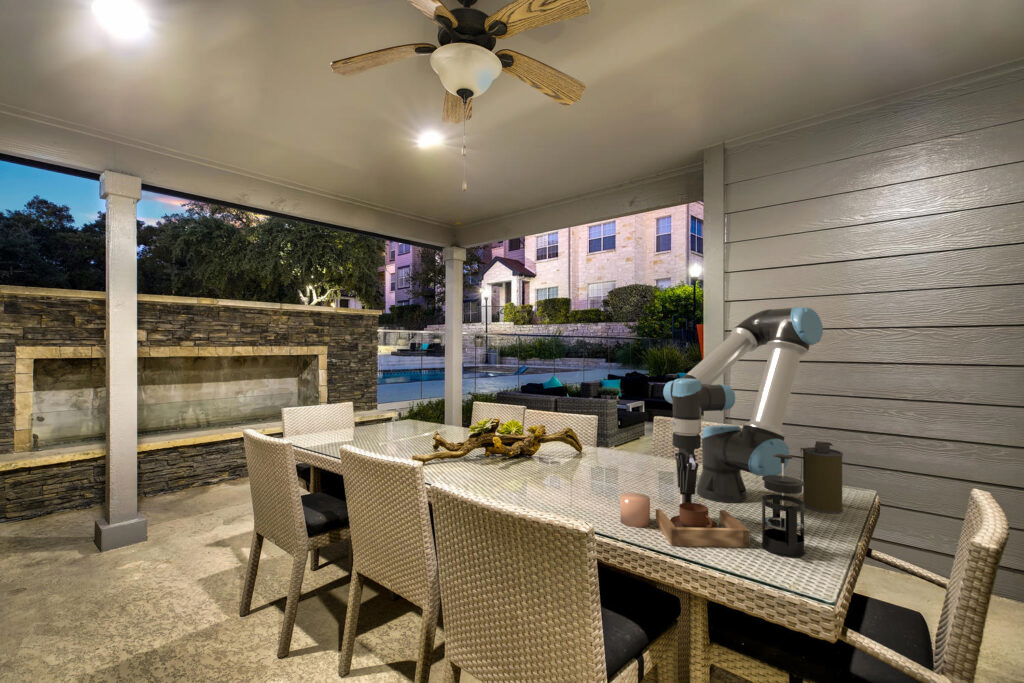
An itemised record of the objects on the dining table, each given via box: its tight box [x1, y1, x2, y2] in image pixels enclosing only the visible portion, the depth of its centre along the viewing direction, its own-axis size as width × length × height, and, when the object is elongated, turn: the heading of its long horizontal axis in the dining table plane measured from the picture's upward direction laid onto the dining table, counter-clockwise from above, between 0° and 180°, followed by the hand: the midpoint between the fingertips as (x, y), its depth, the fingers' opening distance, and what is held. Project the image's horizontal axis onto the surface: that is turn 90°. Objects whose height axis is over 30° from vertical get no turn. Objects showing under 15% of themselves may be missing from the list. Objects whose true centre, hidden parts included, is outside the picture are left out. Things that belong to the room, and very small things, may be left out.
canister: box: [800, 440, 844, 514], centre depth 146 cm, size 11×10×20 cm
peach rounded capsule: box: [619, 492, 651, 529], centre depth 133 cm, size 8×8×7 cm
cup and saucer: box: [669, 502, 719, 528], centre depth 128 cm, size 12×12×6 cm
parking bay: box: [655, 508, 750, 548], centre depth 125 cm, size 19×14×4 cm
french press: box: [760, 454, 806, 559], centre depth 115 cm, size 12×9×23 cm
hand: (686, 516), depth 135 cm, fingers closed
